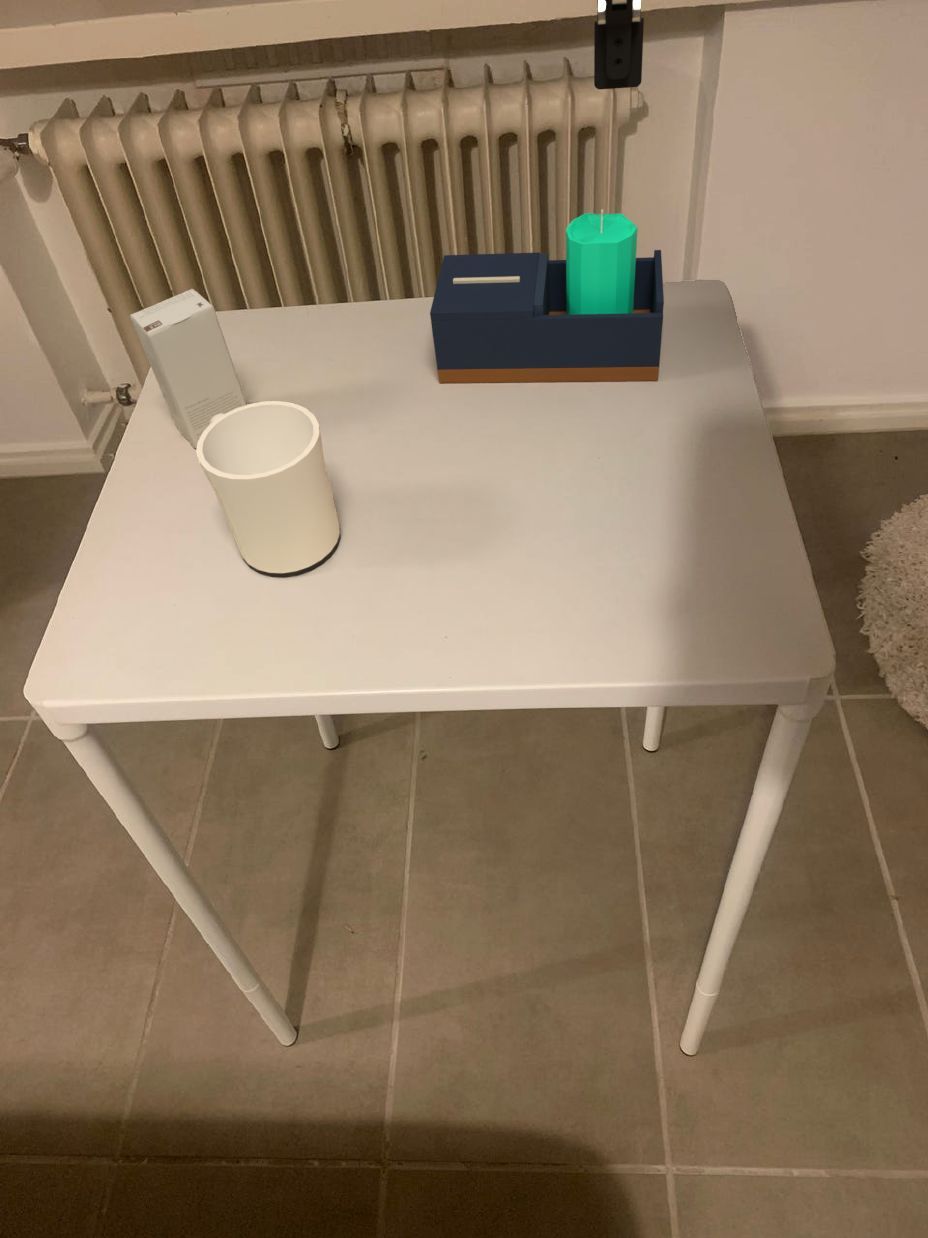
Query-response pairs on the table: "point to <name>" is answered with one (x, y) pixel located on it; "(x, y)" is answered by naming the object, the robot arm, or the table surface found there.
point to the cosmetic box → (189, 361)
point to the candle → (600, 264)
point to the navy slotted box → (539, 324)
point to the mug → (272, 485)
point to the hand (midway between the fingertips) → (618, 61)
